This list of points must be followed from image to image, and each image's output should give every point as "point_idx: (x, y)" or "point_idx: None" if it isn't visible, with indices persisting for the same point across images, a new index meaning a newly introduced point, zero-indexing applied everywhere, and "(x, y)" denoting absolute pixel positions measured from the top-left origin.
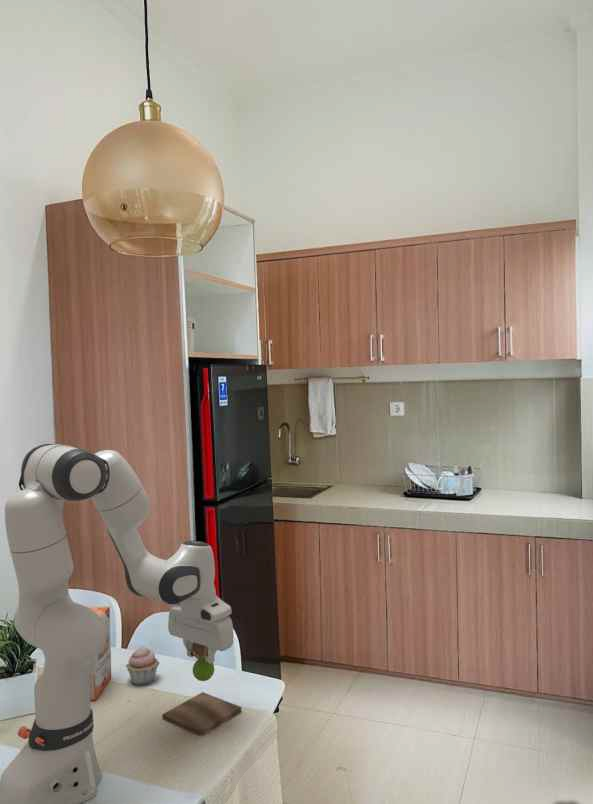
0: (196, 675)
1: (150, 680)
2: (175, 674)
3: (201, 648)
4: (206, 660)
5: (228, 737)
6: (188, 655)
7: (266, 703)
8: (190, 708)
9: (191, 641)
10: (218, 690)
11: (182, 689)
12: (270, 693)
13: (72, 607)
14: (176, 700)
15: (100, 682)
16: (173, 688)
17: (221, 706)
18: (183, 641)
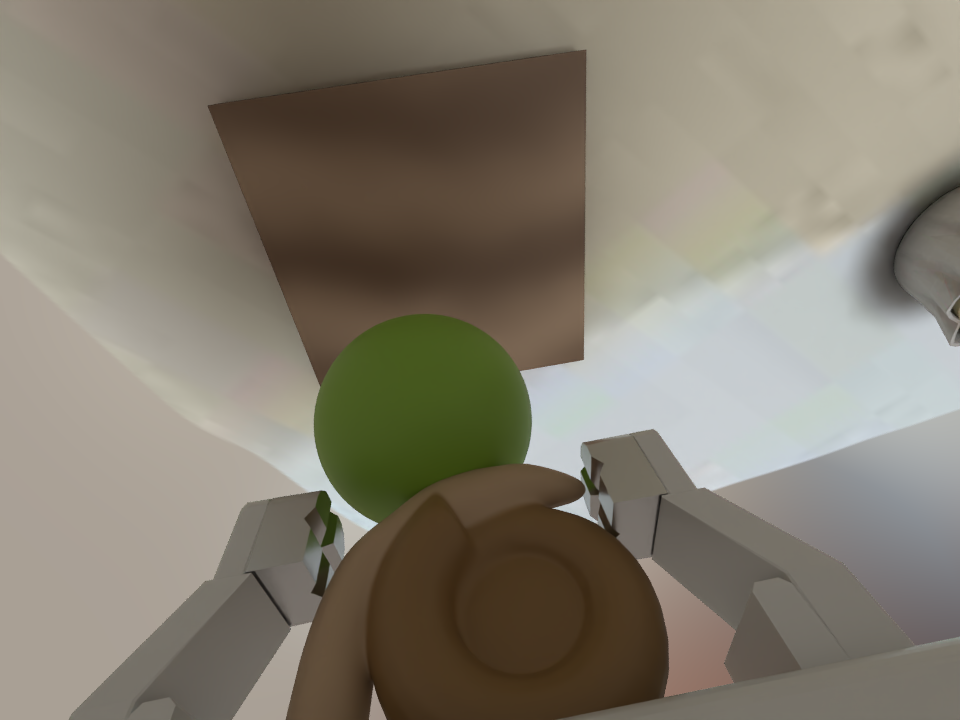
0: (393, 322)
1: (907, 251)
2: (822, 367)
3: (395, 644)
4: (291, 512)
5: (124, 215)
6: (631, 438)
7: (326, 481)
8: (502, 227)
9: (605, 716)
10: (561, 415)
11: (706, 320)
12: None
13: None
14: (659, 242)
15: None
16: (752, 297)
17: None
18: (845, 583)
